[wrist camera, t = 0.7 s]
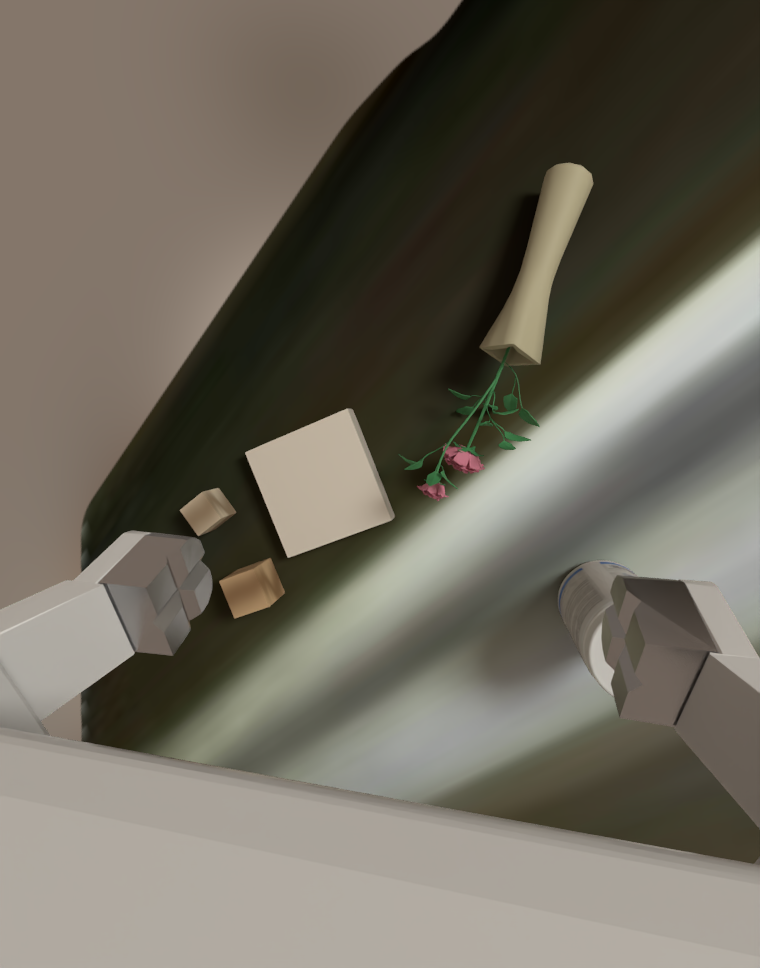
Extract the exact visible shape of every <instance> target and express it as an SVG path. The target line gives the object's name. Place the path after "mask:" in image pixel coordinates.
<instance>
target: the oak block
mask: <svg viewBox="0 0 760 968" xmlns="http://www.w3.org/2000/svg"><path fill="white" fill-rule="evenodd" d="M219 582H220V585H221V587H222V590H223V592H224V594H225V597H226V599H227V602H228V604H229V607H230V609H231V611H232V614H233V616H234V619H235V618H238V617H241V616H244V615H247V614H250V613H252V612H255V611H258V610H261V609H264V608H267V607H270V606H271V605H272V604H273V603H274V602H275V601H276V600H277V599H279V598H280V597H281V596H282V595H283V594H284V593H285V592H284V589H283V587H282V584H281V582H280V579H279V577H278V575H277V572H276V570H275V567H274V565H273V562H272V560H271V558H268V559H265V560H263V561H260V562H257V563H254V564H252V565H249V566H246V567H244V568H241V569H238V570H237V571H235V572H233V573H232V574H230V575H228V576H227V577H225V578H224V579H222V580H220V581H219Z"/></svg>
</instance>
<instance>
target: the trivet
mask: <svg viewBox="0 0 760 968" xmlns="http://www.w3.org/2000/svg"><path fill="white" fill-rule="evenodd" d="M245 454H246V456H247V459H248V461H249V464H250V466H251V469H252V471H253V474H254V476H255V478H256V481H257V483H258V486H259V488H260V491H261V493H262V496H263V498H264V501H265V503H266V505H267V508H268V510H269V513H270V515H271V518H272V520H273V523H274V525H275V527H276V530H277V532H278V535H279V537H280V540H281V542H282V545H283V547H284V550H285V552H286V554H287V557H288V558H289V557H292V556H295V555H298V554H300V553H303V552H306V551H309V550H311V549H314V548H317V547H320V546H322V545H325V544H328V543H331V542H333V541H336V540H339V539H342V538H344V537H347V536H350V535H353V534H355V533H358V532H361V531H364V530H366V529H369V528H372V527H375V526H377V525H380V524H383V523H386V522H388V521H391V520H392V519H393V518H394V517H395V515H394V512H393V510H392V507H391V505H390V502H389V500H388V497H387V495H386V492H385V490H384V487H383V485H382V482H381V480H380V477H379V474H378V472H377V469H376V467H375V464H374V462H373V459H372V457H371V454H370V452H369V449H368V447H367V444H366V442H365V439H364V437H363V434H362V431H361V429H360V426H359V424H358V421H357V419H356V416H355V414H354V411H353V409H345V410H343V411H341V412H338V413H336V414H334V415H331V416H329V417H327V418H324V419H322V420H320V421H317V422H315V423H313V424H310V425H308V426H306V427H303V428H301V429H299V430H296V431H294V432H292V433H289V434H287V435H285V436H282V437H280V438H278V439H275V440H273V441H271V442H268V443H266V444H264V445H261V446H259V447H257V448H254V449H252V450H250V451H247V452H245Z"/></svg>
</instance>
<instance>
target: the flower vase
mask: <svg viewBox="0 0 760 968" xmlns="http://www.w3.org/2000/svg"><path fill="white" fill-rule="evenodd" d="M592 186H593V180H592V175H591V173H589V172H588V171H587V170H586V169H585V168H584V167H583V166H580V165H576V164H573V163H564V164H557V165H555V166H554V167H552V168H551V169H549V170H548V171H547V172H546V175H545V178H544V181H543V185H542V189H541V193H540V197H539V201H538V205H537V209H536V213H535V217H534V221H533V225H532V229H531V233H530V237H529V241H528V245H527V249H526V252H525V256H524V259H523V263H522V266H521V269H520V272H519V275H518V277H517V280H516V282H515V285H514V288H513V290H512V292H511V294H510V296H509V298H508V300H507V302H506V304H505V305H504V307H503V309H502V311H501V312H500V314H499V316H498V317H497V319H496V320H495V322H494V324H493V325H492V327H491V329H490V330H489V332H488V334H487V335H486V337H485V338H484V340H483V342H482V343H481V345H480V347H479V348H481V349H482V350H484V351H485V352H486V353H488V354H489V355H491V356H492V357H493V358H495V359H496V360H498V361H499V362H501V365H500V367H499V370H498V372H497V375H496V377H495V379H494V381H493V382H492V384H491V385H490V387H489V388H488V390H487V391H486V393H485V394H484V395H483V396H482V397H481V398H480V399H481V400H480V399H479V400H480V401H479V400H478V401H479V403H478V404H477V405H476V407H475V408H474V409H473V407H474V406H475V404H476V403H477V402H478V401H477V402H476V403H475V404H474V406H473V407H463V408H460V409H457V410H456V412H458V413H461V414H464V415H469V416H468V417H467V418H466V420H465V421H464V422H463V424H462V425H461V426H460V427H459V428H458V430H457V431H456V432H455V433H454V435H453V436H452V437H451V439H450V440H449V442H448V443H446V444H445V445H444V446H445V447H444V446H442V447H443V448H444V449H443V453H442V455H441V457H440V460H439V463H438V464H437V467H436V469H437V470H435V471H434V472H433V473H431V474H429V475H428V476H427V480H425V479H424V480H425V481H426V484H424V485H423V486H419V487H418V486H417V487H418V488H419V489H420V490H421V491H423V494H425V495H427V494H428V496H429V497H432V498H433V499H436V500H437V501H439V500H440V498H443V497H449V496H446V495H445V489H444V486H443V485H444V484H441V483H440V482H439V481H440V480H441V478H442V477H443V478H444V479H445V480H447V481H448V482H449V483H450V484H451V485H452V486H453V487H455V486H454V485H453V484H452V483H451V482H450V481H449V480H448V479H447V477H446V475H445V472H444V470H443V471H442V472H440V473H441V474H440V473H438V471H439V468H440V466H441V465H440V464H441V461H442V458H443V456H444V458H445V461H446V462H447V464H448V465H452V464H453V467H454V469H456V470H459V471H463V472H464V473H468V471H470V473H474V472H479V470H482V469H485V468H484V467H483V466H484V464H481V463H480V462H481V461H480V460H479V458H478V456H484V455H478V454H477V453H476V452H475V447H476V446H475V447H472V448H469V447H470V445H471V442H472V440H473V438H474V436H475V434H476V432H477V429H478V427H479V425H480V426H482V425H488V426H493V425H492V424H491V423H487V422H484V423H481V424H480V422H481V420H482V418H483V415H484V413H485V411H486V408H487V406H488V407H491V408H492V411H493V409H494V410H498V407H497V406H494V401H493V406H491V405H490V404H488V403H489V401H490V398H491V396H492V393H493V392H494V388H495V386H496V383H497V381H498V378H499V376H500V373H501V371H502V368H503V366H504V365H505V366H509V367H510V366H519V365H536V364H540V363H541V355H542V347H543V340H544V332H545V324H546V316H547V308H548V301H549V295H550V291H551V286H552V283H553V279H554V276H555V274H556V271H557V268H558V265H559V263H560V260H561V258H562V256H563V253H564V251H565V249H566V246H567V244H568V242H569V239H570V237H571V235H572V232H573V230H574V228H575V225H576V223H577V221H578V218H579V216H580V214H581V211H582V209H583V207H584V204H585V202H586V200H587V197H588V195H589V193H590V190H591V188H592ZM510 368H511V367H510ZM511 369H512V368H511ZM512 371H513V369H512ZM513 372H514V371H513ZM514 374H515V372H514ZM516 378H517V376H516V374H515V381H516ZM517 382H518V379H517ZM514 386H515V383H514ZM518 387H519V383H518ZM490 389H491V390H490ZM513 389H514V387H513ZM448 390H449V391H451V392H452V393H453V394H454V395H455V396H457V397H459V398H461V399H465V400H467V399H468V398H470V397H471V396H467V395H462V394H460V393H458V392H455V391H453V390H450V389H448ZM489 391H490V392H489ZM488 392H489V395H488V397H487V400H486V399H485V400H486V402H485V403H483V405H484V407H483V410H482V412H481V414H480V417H479V419H478V422H477V424H476V427H475V429H474V431H473V433H472V436H471V438H470V440H469V443H468V445H467V447H465V446H462V445H458V444H456V443H455V442H454V441H453V442H454V444H455V446H456V447H448V446H449V445H450V443H451V441H452V440H453V438H454V437H455V436H456V435H457V433H458V432H459V431H460V430H461V428H462V427H463V426H464V425H465V423H466V422H467V421H468V420H469V418H470V417H471V416H472V414H474V412H475V410H476V409H477V408H478V406H479V405H480V404H481V402H482V401H483V399H484V398H485V397H486V395H487V394H488ZM512 392H513V390H512ZM472 396H477V395H472ZM519 398H520V390H519ZM494 400H495V393H494ZM520 404H521V399H520ZM504 405H505V408H506V409H507V410H508V412H503V413H499V412H495V411H493V414H503V415H505V414H510V413H513V412H515V411H517V410H519V409H516V406H517V398H516V397H515V396H514V395H513V394H509V395H507V396H504ZM521 407H522V405H521ZM487 412H488V409H487ZM488 415H489V412H488ZM519 416H520V417H521V418H522V419H523V420H524V421H526V422H527V423H529V424H532V425H535V426H538V427H540V426H539V425H538V423H537V421H536V420H535V419H534V418H533V417H532V416H531V415H530V414H529V412H528V411H527V410H525V409H523V408H522V409H521V411H520V412H519ZM489 417H490V415H489ZM490 419H491V417H490ZM491 420H492V419H491ZM489 422H490V421H489ZM492 422H493V423H494V425H495V424H496V423H495V422H494V421H493V420H492ZM496 425H498V424H496ZM496 425H495V426H496ZM498 426H499V425H498ZM496 427H497V426H496ZM499 427H500V426H499ZM500 428H502V427H500ZM497 429H498V427H497ZM502 429H503V428H502ZM498 430H499V429H498ZM503 430H504V429H503ZM499 431H500V430H499ZM500 433H501V431H500ZM504 433H505V438H507V439H509V440H513V441H529V440H530V439H527V438H525V437H521V436H518V435H514V434H512V433H510V432H505V430H504ZM501 434H502V433H501ZM502 436H503V434H502ZM503 439H504V436H503ZM442 447H440V448H442ZM499 447H500V448H502V449H505V450H514V449H516V448H515V447H514V446H513V445H512V444H510V443H508V442H506V441H505V440H504V441H503V442H502V443H500V444H499ZM440 448H439V449H440ZM439 449H437V450H439ZM446 449H448V450H446ZM437 450H435V451H437ZM435 451H433V452H435ZM433 452H431V453H429V455H430V454H432V453H433ZM398 455H400V454H398ZM400 456H401V455H400ZM427 456H428V454H427V455H426V456H425V457H427ZM401 457H402V456H401ZM425 457H424V458H425ZM402 458H403V459H404V460H405V461H406V462H408V463H409V464H411V466H409V467H407V468H405V469H404V470H414V469H418V468H420V467H421V466H422V463H423V459H424V458H422V459H421V460H422V461H421V460H420V461H418V462H414V461H410V460H407V459H405V458H404V457H402ZM441 467H442V466H441ZM480 468H481V469H480ZM442 469H443V467H442ZM455 488H456V489H458V488H457V487H455Z"/></svg>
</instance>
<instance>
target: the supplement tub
mask: <svg viewBox="0 0 760 968" xmlns="http://www.w3.org/2000/svg"><path fill="white" fill-rule="evenodd" d="M617 575H623V576H635V577H638V576H637V575H636V574H635V573H633V572H632V571H631V570H630V569H628V568H627V567H625V566H623V565H621V564H619V563H616V562H612V561H605V560H597V561H591V562H587V563H584V564H582V565H580V566H578V567H577V568H575V569H574V570H573V571H571V572H570V573H569V574H568V575H567V576H566V578H565V579H564V580H563V582H562V584H561V586H560V589H559V593H558V608H559V612H560V614H561V617H562V619H563V621H564V623H565V625H566V627H567V629H568V631H569V633H570V635H571V637H572V639H573V641H574V643H575V645H576V647H577V649H578V651H579V653H580V655H581V657H582V659H583V661H584V663H585V664H586V666H587V668H588V670H589V671H590V673H591V674H592V676H593V677H594V678H595V679H596V681H597V682H598V683H599V685H600V686H601V687H602V688H603V689H604V690H605V691H606V692H608V693H609V694H610V695H611V696H613V697H614V694H613V690H612V686H611V681H612V677H613V674H614V670H613V669H612V668H611V667H610V666H609V665H608V664H607V663H606V662H605V658H604V653H603V649H602V640H601V634H602V621H603V617H604V613H605V609H607V608H608V607H610V606H611V605H612V604H614V603H613V599H612V596H611V593H610V591H611V587H612V584H613V581H614V579H615V578H616V576H617Z"/></svg>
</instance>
